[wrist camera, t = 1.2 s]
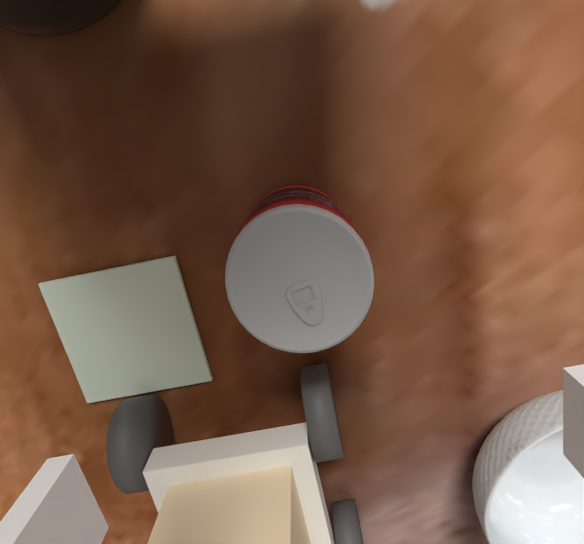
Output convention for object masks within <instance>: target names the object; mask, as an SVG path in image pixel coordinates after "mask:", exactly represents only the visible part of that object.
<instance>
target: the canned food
mask: <svg viewBox="0 0 584 544" xmlns="http://www.w3.org/2000/svg"><path fill="white" fill-rule="evenodd" d="M225 286H226V291H227V297H228V300H229V302H230V305H231V308H232V310H233V312H234V314H235V315H236V317H237V318H238V320H239V322H240V323H241V324H242V325H243V326H244V327H245V328H246V330H247V331H248V332H249V333H250V334H252V335H253V336H254V337H256V338H257V339H258V340H260V341H261V342H263V343H265V344H267V345H269V346H271V347H273V348H276V349H279V350H283V351H286V352H294V353H311V352H317V351H321V350H325V349H328V348H330V347H332V346H334V345H336V344H339V343H340V342H342V341H343V340H345V339H346V338H347V337H349V336H350V335H351V334H352V333H353V332H354V331H355V330H356V329H357V328H358V327H359V325H360V324H361V323H362V321H363V319H364V318H365V316H366V314H367V313H368V310H369V307H370V304H371V302H372V298H373V291H374V271H373V267H372V263H371V259H370V255H369V252H368V250H367V248H366V246H365V244H364V242H363V240H362V239H361V237H360V235H359V234H358V232H357V231H356V230H355V228H354V227H353V225H352V224H351V223H350V221H349V220H348V218H347V217H346V216H345V214H344V213H343V211H342V210H341V209H340V207H339V206H338V205H337V204H336V202H335V201H334V200H332V199H331V198H330V197H329V196H328V195H327V194H325V193H323V192H321V191H320V190H318V189H315V188H312V187H309V186H302V185H292V186H285V187H282V188H278V189H276V190H274V191H272V192H270V193H269V194H267V195H266V196H265V197H264V198H263V199H261V200H260V201H259V203H258V204H257V205H256V207H255V208H254V209H253V211H252V212H251V214H250V215H249V217H248V219H247V220H246V222H245V223H244V225H243V226H242V228H241V229H240V231H239V233H238V234H237V236H236V238H235V240H234V242H233V245H232V247H231V249H230V251H229V255H228V259H227V263H226V269H225Z"/></svg>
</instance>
